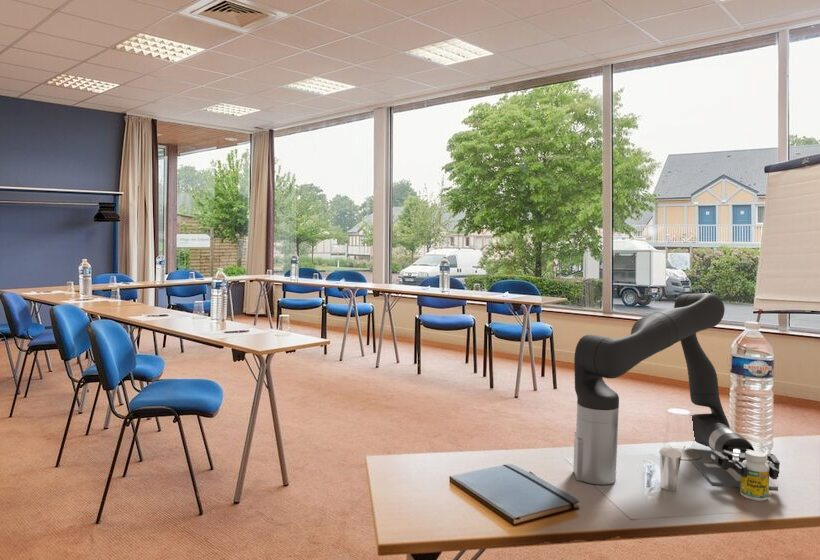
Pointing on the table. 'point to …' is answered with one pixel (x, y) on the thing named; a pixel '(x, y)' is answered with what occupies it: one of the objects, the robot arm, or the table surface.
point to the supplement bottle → (755, 476)
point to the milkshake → (669, 467)
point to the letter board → (722, 475)
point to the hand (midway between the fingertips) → (760, 473)
